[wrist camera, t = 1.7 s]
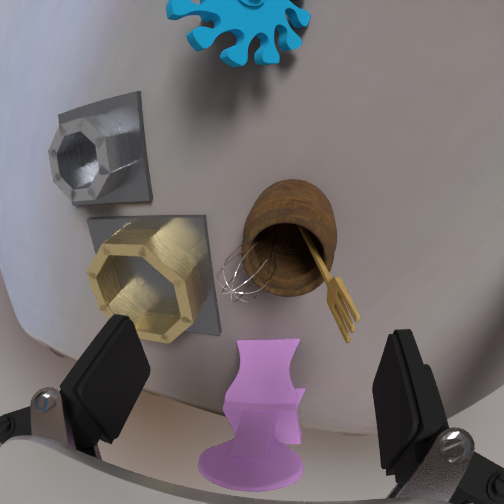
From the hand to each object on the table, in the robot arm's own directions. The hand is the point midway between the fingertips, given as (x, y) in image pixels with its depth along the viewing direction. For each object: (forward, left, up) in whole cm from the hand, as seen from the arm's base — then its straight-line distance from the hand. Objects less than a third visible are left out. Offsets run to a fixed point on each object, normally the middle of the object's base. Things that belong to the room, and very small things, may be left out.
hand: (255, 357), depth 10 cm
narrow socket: (+15, -6, -14) cm, 22 cm away
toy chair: (+1, +17, -14) cm, 22 cm away
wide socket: (+12, +6, -14) cm, 20 cm away
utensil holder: (-1, 0, -14) cm, 14 cm away
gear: (+2, -16, -14) cm, 22 cm away
